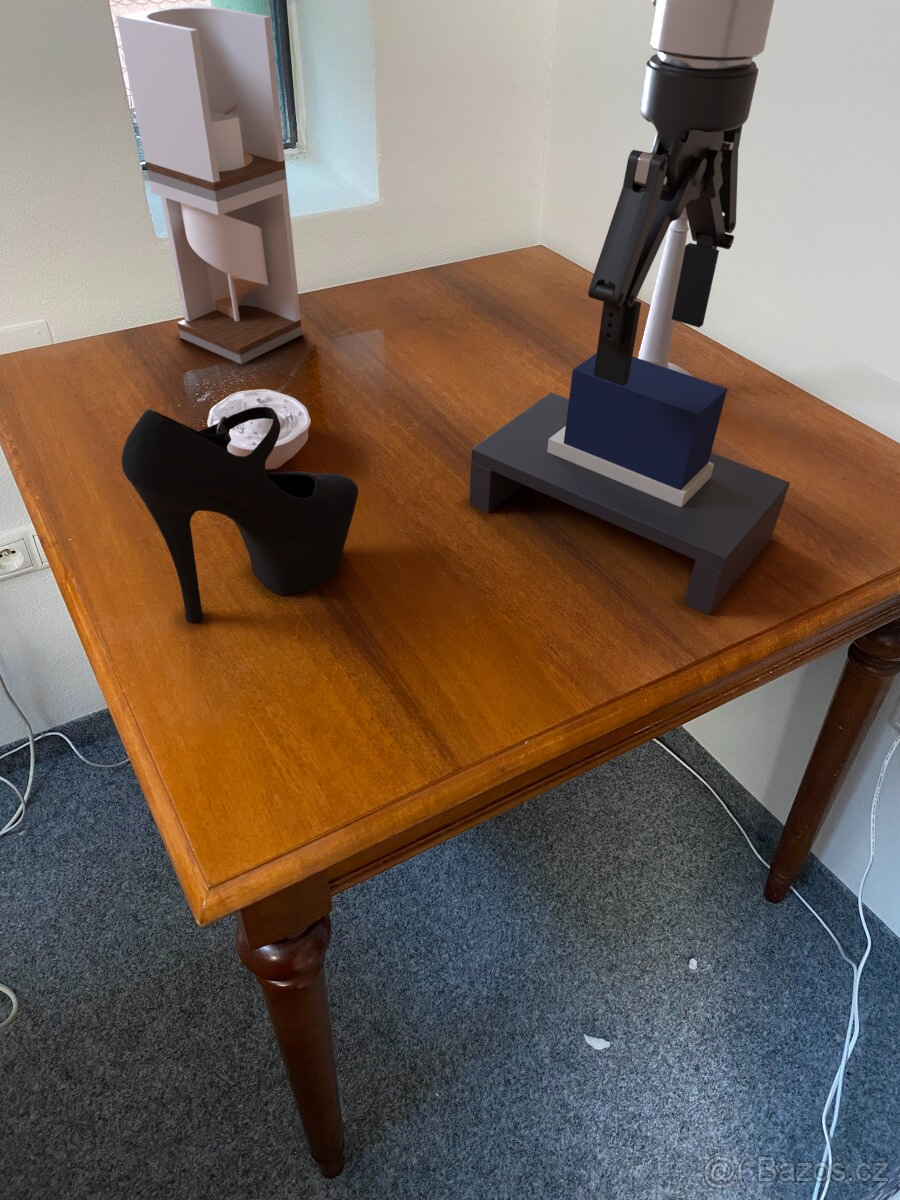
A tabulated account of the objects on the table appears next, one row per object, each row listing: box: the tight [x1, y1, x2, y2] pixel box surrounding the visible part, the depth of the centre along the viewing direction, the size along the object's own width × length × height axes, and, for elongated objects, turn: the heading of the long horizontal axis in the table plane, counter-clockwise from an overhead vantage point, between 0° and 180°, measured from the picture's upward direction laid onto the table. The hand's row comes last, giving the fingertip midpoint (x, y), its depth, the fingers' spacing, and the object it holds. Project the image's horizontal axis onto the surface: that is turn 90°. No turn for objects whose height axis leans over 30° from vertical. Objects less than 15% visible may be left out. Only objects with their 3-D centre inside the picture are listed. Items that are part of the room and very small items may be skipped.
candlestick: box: [637, 208, 694, 377], centre depth 95 cm, size 13×13×30 cm
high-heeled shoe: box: [121, 407, 359, 623], centre depth 71 cm, size 8×19×20 cm, turn 130°
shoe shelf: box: [468, 392, 791, 616], centre depth 84 cm, size 26×14×6 cm, turn 53°
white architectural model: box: [116, 3, 303, 365], centre depth 102 cm, size 11×11×35 cm
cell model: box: [206, 388, 311, 470], centre depth 91 cm, size 10×12×7 cm
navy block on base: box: [547, 352, 728, 507], centre depth 79 cm, size 14×6×9 cm, turn 52°
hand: (650, 349), depth 74 cm, fingers open, 13 cm apart
